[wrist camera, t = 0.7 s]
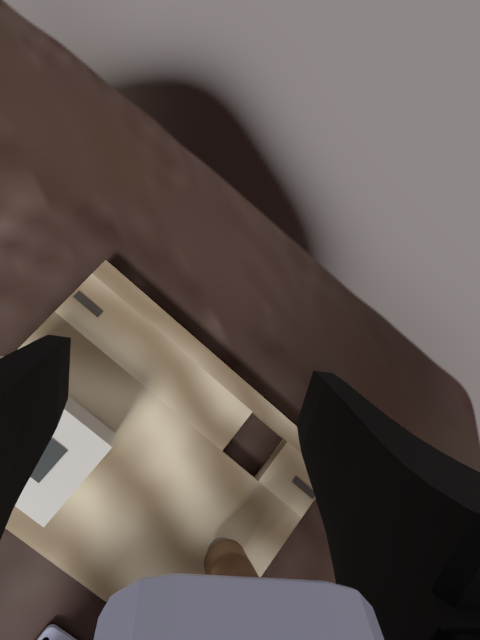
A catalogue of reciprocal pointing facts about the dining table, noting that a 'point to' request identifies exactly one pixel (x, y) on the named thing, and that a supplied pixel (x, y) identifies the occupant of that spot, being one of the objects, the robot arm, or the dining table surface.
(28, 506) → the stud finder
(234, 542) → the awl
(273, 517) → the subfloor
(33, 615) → the dining table surface
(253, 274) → the dining table surface
